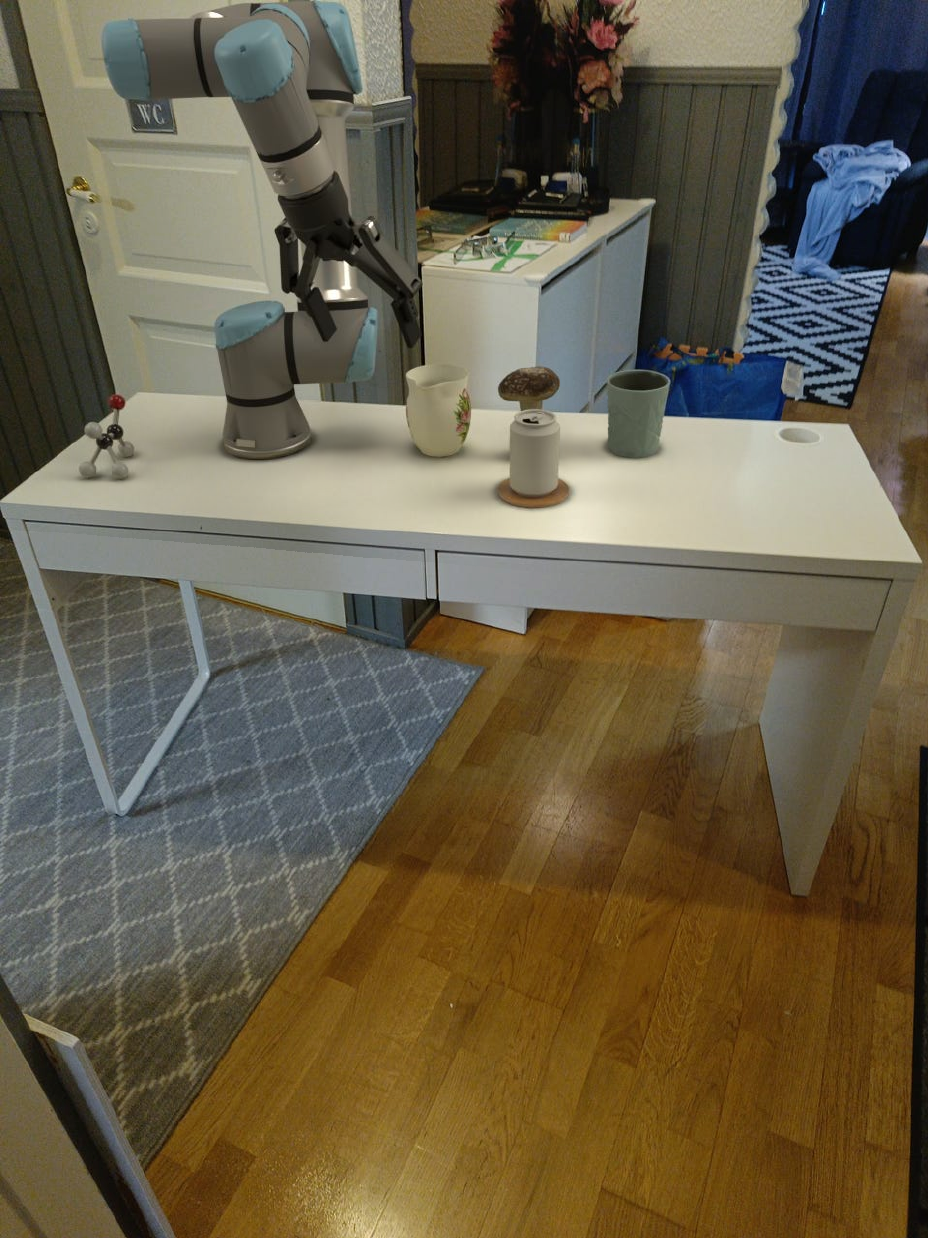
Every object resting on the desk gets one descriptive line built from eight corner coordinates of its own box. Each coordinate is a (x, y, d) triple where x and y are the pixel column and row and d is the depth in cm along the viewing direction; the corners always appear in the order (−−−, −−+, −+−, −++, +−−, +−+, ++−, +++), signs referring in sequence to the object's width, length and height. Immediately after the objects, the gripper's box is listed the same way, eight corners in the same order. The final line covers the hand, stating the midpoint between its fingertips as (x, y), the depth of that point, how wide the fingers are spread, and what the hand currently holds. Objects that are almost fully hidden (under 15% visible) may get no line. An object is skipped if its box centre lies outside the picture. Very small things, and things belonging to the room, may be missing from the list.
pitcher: (484, 429, 158) (483, 353, 151) (458, 471, 144) (456, 389, 136) (426, 424, 161) (422, 349, 153) (395, 465, 147) (389, 385, 139)
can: (499, 489, 137) (499, 416, 130) (531, 474, 141) (532, 402, 135) (535, 504, 133) (537, 429, 126) (567, 488, 137) (571, 414, 130)
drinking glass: (670, 442, 152) (677, 374, 145) (651, 464, 145) (659, 393, 138) (614, 432, 156) (619, 365, 149) (593, 454, 149) (598, 384, 142)
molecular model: (78, 480, 145) (60, 418, 139) (110, 450, 154) (94, 391, 148) (126, 481, 144) (109, 419, 138) (155, 451, 154) (141, 392, 148)
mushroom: (566, 453, 149) (570, 366, 140) (540, 472, 143) (543, 382, 135) (518, 441, 153) (519, 356, 145) (491, 459, 148) (491, 371, 139)
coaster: (492, 479, 141) (492, 476, 141) (559, 473, 143) (559, 470, 142) (505, 510, 132) (505, 507, 132) (576, 504, 134) (576, 501, 133)
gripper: (207, 202, 103) (283, 350, 120) (381, 199, 92) (439, 363, 108) (241, 167, 107) (311, 315, 123) (413, 160, 95) (465, 324, 112)
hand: (371, 338), depth 116 cm, fingers open, 13 cm apart
